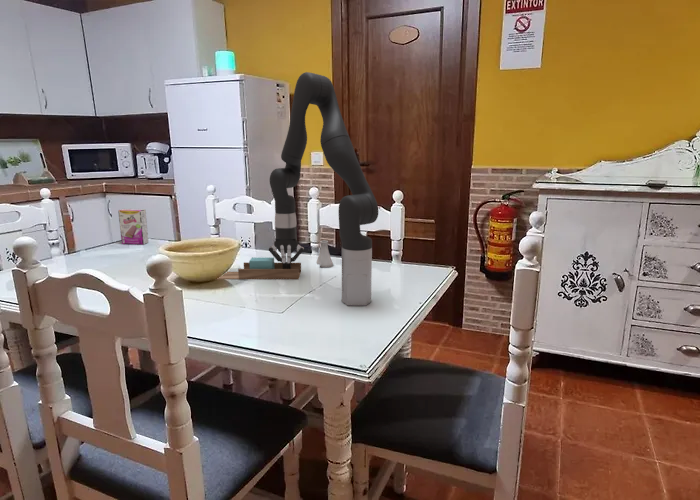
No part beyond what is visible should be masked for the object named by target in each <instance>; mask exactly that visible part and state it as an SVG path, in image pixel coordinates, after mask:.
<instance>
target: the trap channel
mask: <svg viewBox="0 0 700 500" xmlns="http://www.w3.org/2000/svg"><path fill="white" fill-rule="evenodd" d="M226 272H227V273H225V274H224V275H223V276H221V277H219V278H217V279H216V280H299V279H300V277H301V274H302V262H291V269H283V266H282V262H274V269H250V265H249V262H243V268H238V270H237V271H226Z"/></svg>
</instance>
